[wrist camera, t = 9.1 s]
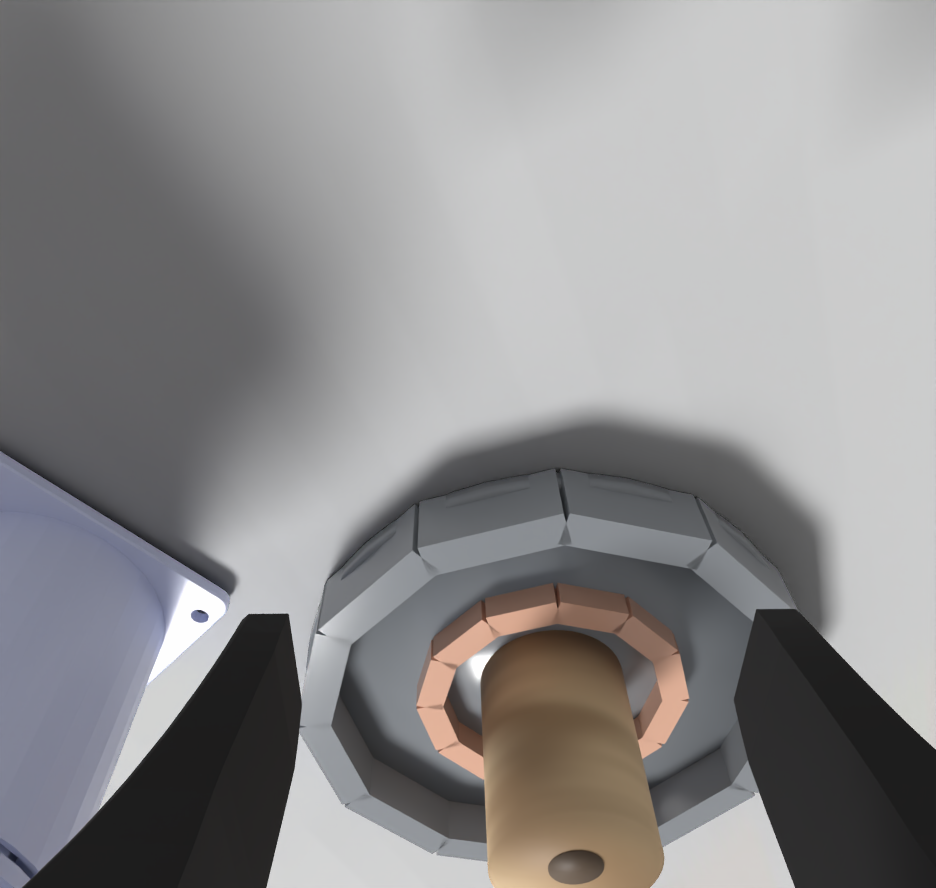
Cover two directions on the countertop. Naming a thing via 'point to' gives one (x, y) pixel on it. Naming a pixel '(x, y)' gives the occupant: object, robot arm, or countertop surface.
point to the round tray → (524, 612)
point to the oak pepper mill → (564, 769)
